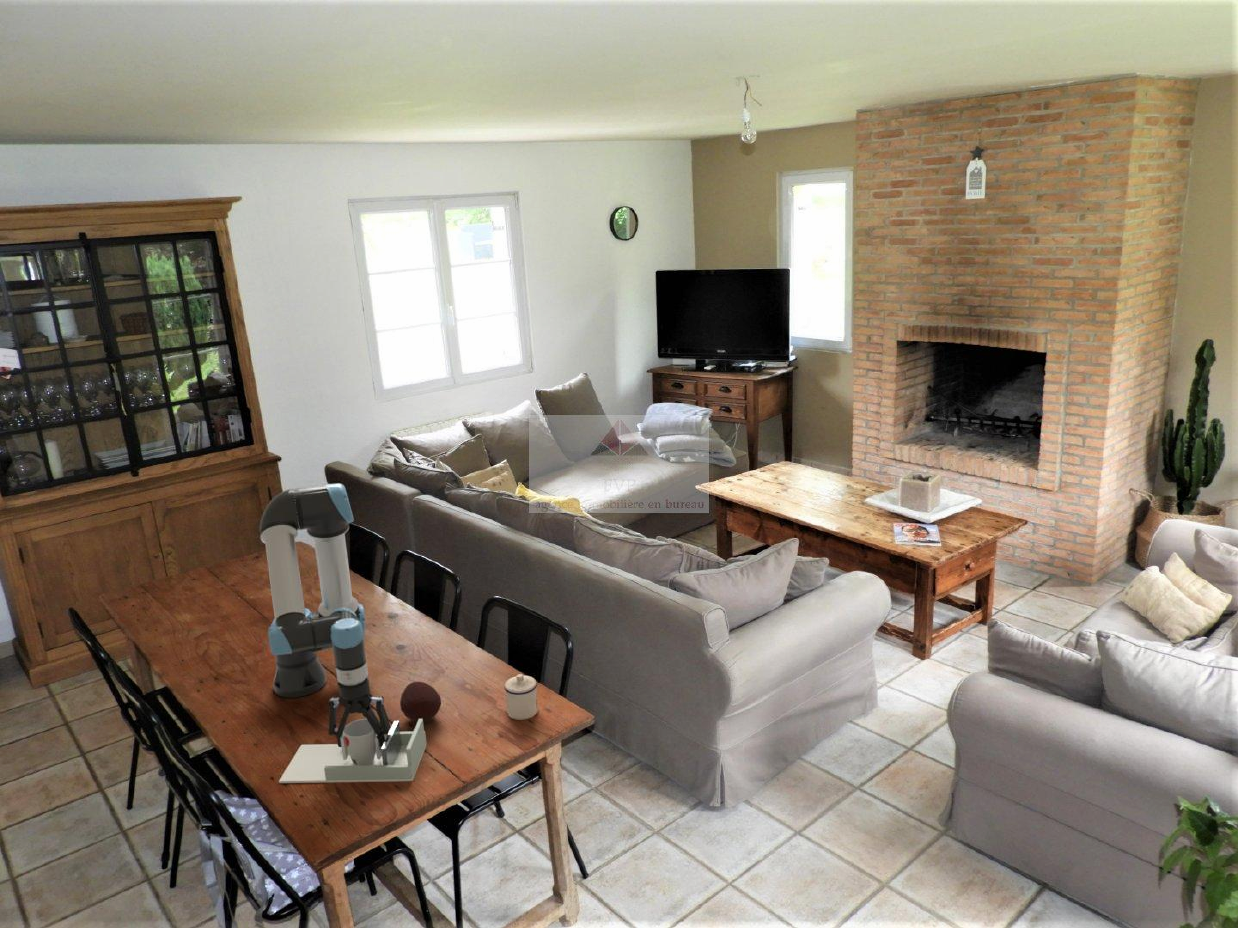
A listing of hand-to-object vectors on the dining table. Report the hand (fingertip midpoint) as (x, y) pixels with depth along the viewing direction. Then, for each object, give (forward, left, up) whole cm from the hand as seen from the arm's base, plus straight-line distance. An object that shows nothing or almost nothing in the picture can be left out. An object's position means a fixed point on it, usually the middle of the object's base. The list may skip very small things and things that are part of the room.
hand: (363, 756), depth 234 cm
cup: (0, 0, -2) cm, 2 cm away
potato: (+11, +20, -2) cm, 23 cm away
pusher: (+8, 0, -1) cm, 8 cm away
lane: (-2, 0, -2) cm, 3 cm away
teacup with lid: (+38, +24, -2) cm, 45 cm away
